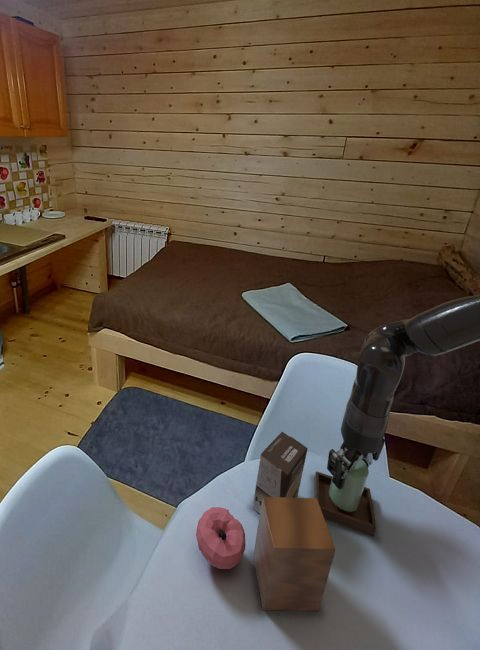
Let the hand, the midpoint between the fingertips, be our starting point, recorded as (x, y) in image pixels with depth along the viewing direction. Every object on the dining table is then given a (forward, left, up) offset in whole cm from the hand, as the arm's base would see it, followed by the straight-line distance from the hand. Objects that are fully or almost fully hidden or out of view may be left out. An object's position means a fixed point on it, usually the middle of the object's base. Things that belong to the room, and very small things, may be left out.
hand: (348, 479), depth 75 cm
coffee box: (+14, -6, -9) cm, 17 cm away
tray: (0, 0, -8) cm, 8 cm away
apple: (+31, -2, -9) cm, 32 cm away
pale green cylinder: (0, 0, -6) cm, 6 cm away
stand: (+21, +6, -8) cm, 24 cm away
